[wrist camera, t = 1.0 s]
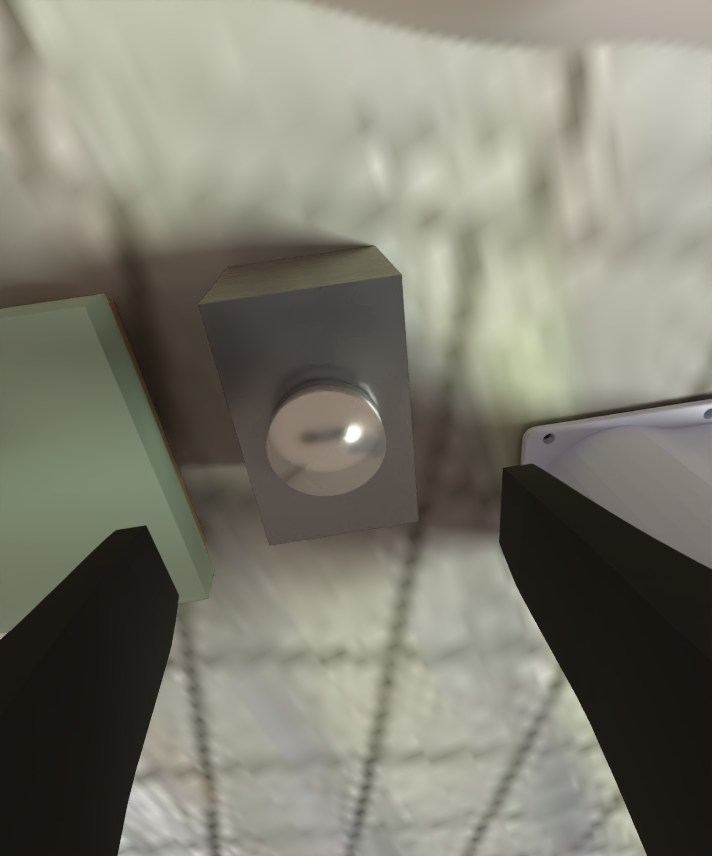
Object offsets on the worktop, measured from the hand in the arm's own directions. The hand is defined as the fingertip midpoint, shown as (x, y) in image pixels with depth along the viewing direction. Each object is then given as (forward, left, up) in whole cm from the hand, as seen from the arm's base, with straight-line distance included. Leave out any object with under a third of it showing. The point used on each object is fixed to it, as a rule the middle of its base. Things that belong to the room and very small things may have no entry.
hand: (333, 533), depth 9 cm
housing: (0, 0, -9) cm, 9 cm away
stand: (+12, +2, -9) cm, 15 cm away
